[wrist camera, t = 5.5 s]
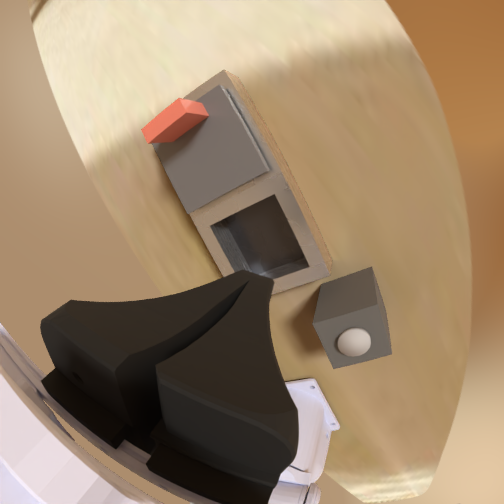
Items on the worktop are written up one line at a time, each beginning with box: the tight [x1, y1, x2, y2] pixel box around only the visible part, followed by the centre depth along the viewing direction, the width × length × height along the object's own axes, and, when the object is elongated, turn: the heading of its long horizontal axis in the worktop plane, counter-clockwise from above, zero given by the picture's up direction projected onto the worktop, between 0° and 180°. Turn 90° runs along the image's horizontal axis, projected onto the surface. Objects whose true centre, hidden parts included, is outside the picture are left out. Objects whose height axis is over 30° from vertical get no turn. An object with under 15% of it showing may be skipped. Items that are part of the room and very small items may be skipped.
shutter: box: [141, 84, 270, 214], centre depth 14 cm, size 6×6×3 cm
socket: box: [183, 70, 332, 295], centre depth 18 cm, size 14×7×2 cm, turn 29°
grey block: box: [312, 267, 392, 369], centre depth 17 cm, size 4×4×5 cm
